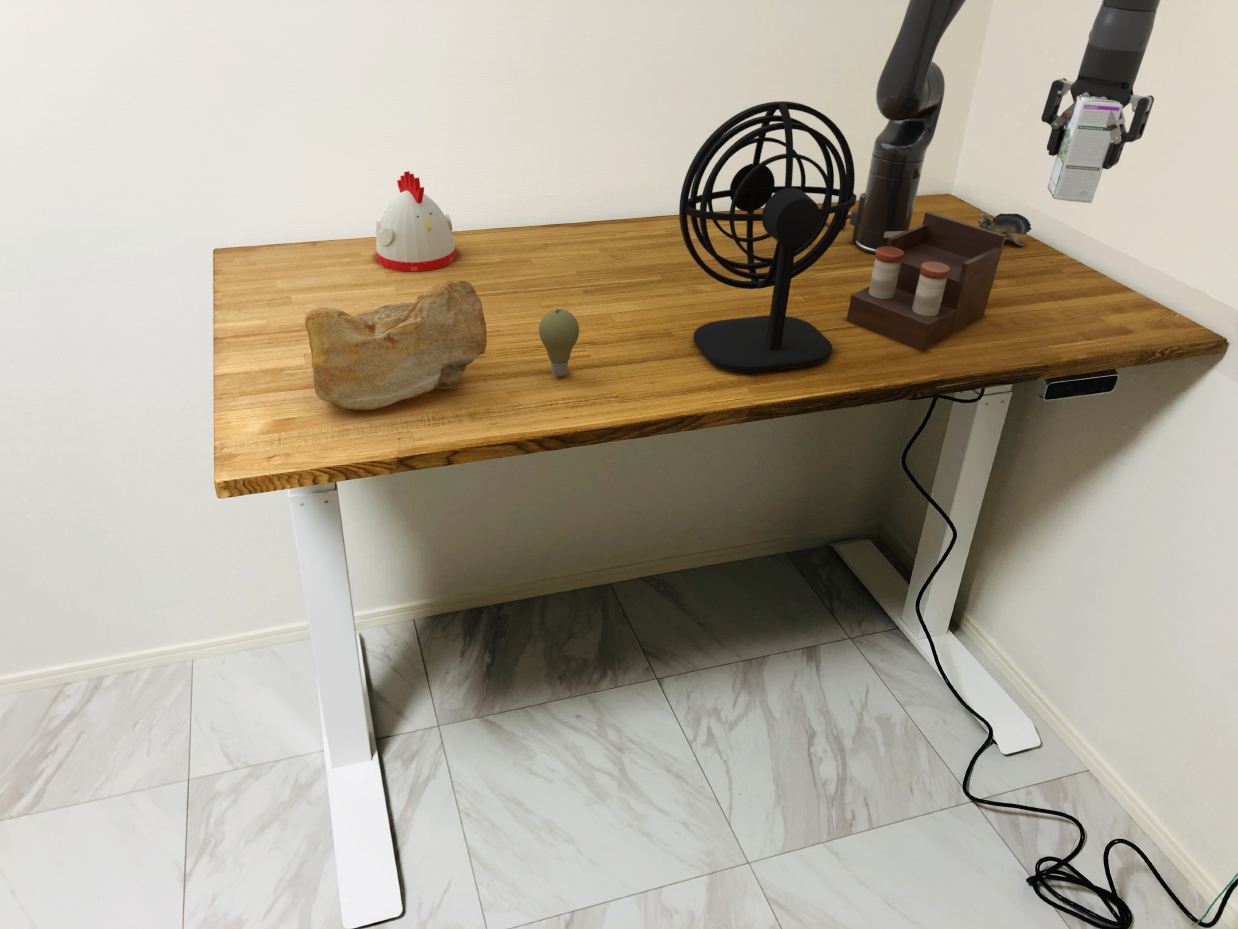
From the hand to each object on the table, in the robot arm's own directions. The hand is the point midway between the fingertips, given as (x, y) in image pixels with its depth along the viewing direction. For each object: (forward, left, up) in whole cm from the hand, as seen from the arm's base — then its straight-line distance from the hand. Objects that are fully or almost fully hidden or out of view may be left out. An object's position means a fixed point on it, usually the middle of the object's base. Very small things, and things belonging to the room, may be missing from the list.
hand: (1079, 161), depth 138 cm
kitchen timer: (-86, -62, -26) cm, 109 cm away
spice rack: (-13, -14, -26) cm, 32 cm away
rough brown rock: (-49, -89, -26) cm, 105 cm away
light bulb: (-36, -71, -26) cm, 84 cm away
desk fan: (-23, -42, -26) cm, 54 cm away
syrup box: (0, 0, -5) cm, 5 cm away
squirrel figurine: (-21, +29, -26) cm, 44 cm away
